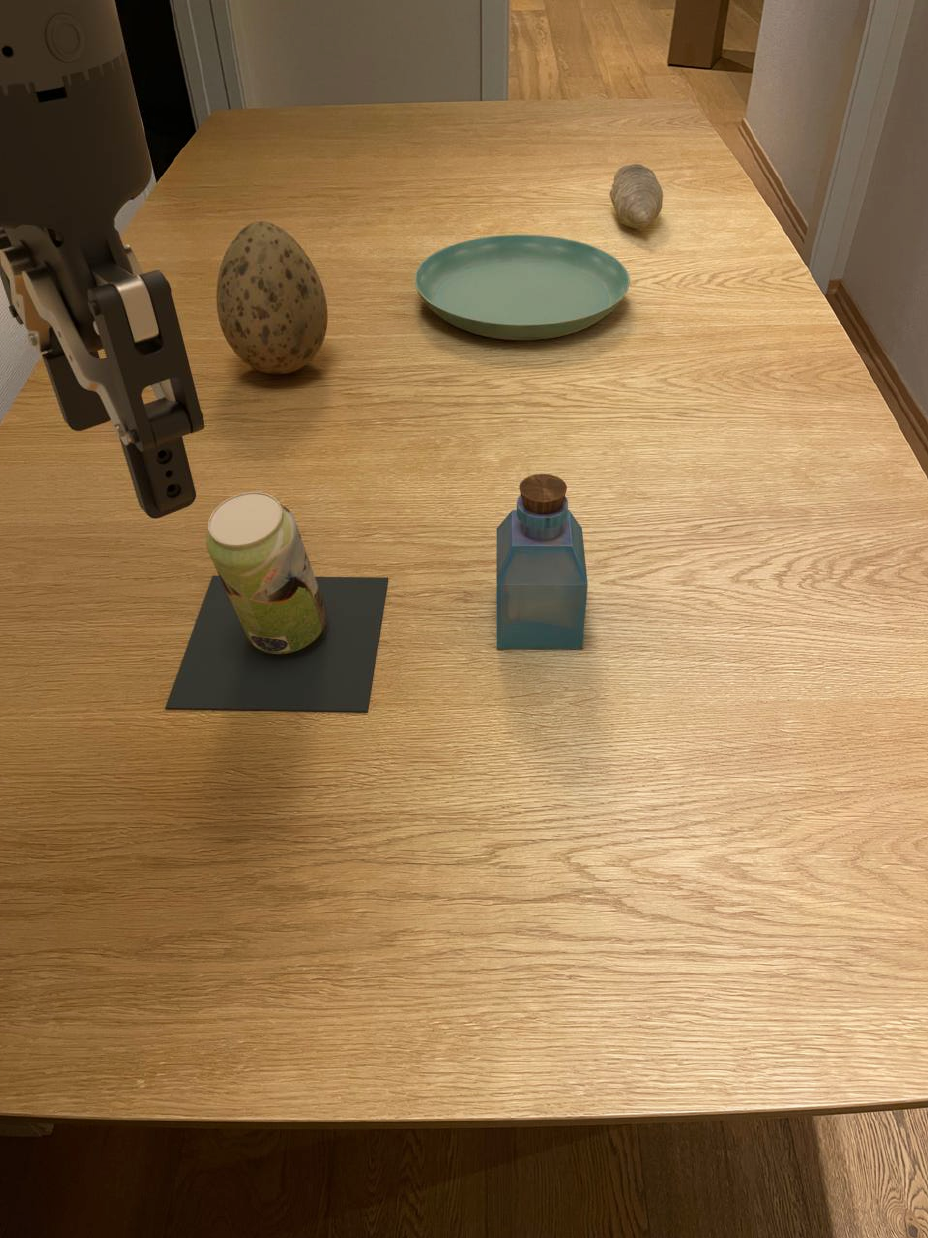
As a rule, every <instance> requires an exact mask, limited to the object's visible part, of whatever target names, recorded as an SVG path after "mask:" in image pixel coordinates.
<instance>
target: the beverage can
mask: <svg viewBox="0 0 928 1238" xmlns="http://www.w3.org/2000/svg"><path fill="white" fill-rule="evenodd" d="M207 529H208V530H207V533H206V537H205V546H206V550H207V553H208V555H209V557H210V559H211V561H212V563H213V565H214V568H215V570H216V572H217V574H218V576H220V578H221V581H222V583H223V585H224V587H225V589H226V592H227V594H228V596H229V598H230V600H231V602H232V605H233V607H234V609H235V611H236V613H237V616H238V618H239V620H240V622H241V624H242V626H243V629H244V631H245V633H246V635H247V637H248V639H249V641H250V642H251V644H252V645H253V646H254V647H256V648H257V649H259V650H261V651H263V652H266V653H270V654H287V653H291V652H295V651H298V650H300V649H302V648H304V647H306V646H308V645H309V644H310V643H312V642H313V641H314V640H315V639H316V638H317V637H318V636H319V635H320V633H321V632H322V630H323V629H324V627H325V624H326V620H327V612H326V608H325V605H324V602H323V599H322V596H321V593H320V590H319V587H318V585H317V582H316V579H315V577H316V576H315V573H314V570H313V567H312V563H311V562H310V559H309V556H308V553H307V550H306V548H305V545H304V541H303V538H302V536H301V533H300V530H299V527H298V524H297V521H296V519H295V516H294V514H293V513H292V512H291V511H290V509H288V508H287V507H286V505H284V504H283V503H280V502H279V501H278V499H276V498H275V497H274V496H272V495H270V494H268V493H265V492H260V491H250V492H249V491H248V492H243V493H239V494H236V495H234V496H231V497H229V498H227V499H226V500H224V501H223V502H221V503H220V504H219V505H217V506H216V508H215V509H214V510H213V511H212V513H211V514H210V516H209V518H208V522H207Z"/></svg>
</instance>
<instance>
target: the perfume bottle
mask: <svg viewBox="0 0 928 1238" xmlns="http://www.w3.org/2000/svg"><path fill="white" fill-rule="evenodd" d="M518 489H519V493H520V494H519V496H518V497H517V500H516V509H511V511H510V512H509V513H508V514H507V515H506V516H505V518H504V519H503V520H502V521H501V522H500V524H499V525H498V526H497V527H496V543H495V544H496V545H495V546H496V551H495V553H496V554H495V555H496V558H495V559H496V561H495V562H496V567H495V568H496V573H495V574H496V575H495V576H496V586H495V587H496V588H495V589H496V590H495V591H496V593H495V595H496V596H495V597H496V599H495V600H496V602H495V603H496V605H495V606H496V607H495V608H496V609H495V610H496V611H495V613H496V650H583V648H584V647H583V645H584V633H585V621H586V611H587V610H586V609H587V600H588V599H587V598H588V586H589V583H588V575H587V564H586V563H587V562H586V553H585V545H584V544H585V543H584V535H583V528H582V526H581V525H580V523H579V521H578V520H577V519H576V517H575V516H574V515H573V513H572V512H571V510H570V509H569V501H568V498H567V496H566V494H567V491H568V487H567V483H566V482H565V481H564V480H563V479H562V478H561V477H558V476H557V475H553V474H549V473H536V474H532V475H528V476H527V477H525V478H523V479H522V480H521V482H520V483H519V487H518Z"/></svg>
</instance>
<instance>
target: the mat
mask: <svg viewBox="0 0 928 1238" xmlns="http://www.w3.org/2000/svg"><path fill="white" fill-rule="evenodd" d="M315 579H316V582H317V585H318V587H319V590H320V593H321V596H322V599H323V602H324V605H325V608H326V612H327V620H326V624H325V627H324V629H323V630H322V632H321V633H320V635H319V636H318V637H317V638H316V639H315V640H314V641H313V642H312V643H310V644H309V645H308V646H306V647H304V648H302V649H300V650H298V651H295V652H291V653H287V654H270V653H266V652H263V651H261V650H259V649H257V648H256V647H254V646H253V645H252V644H251V642H250V641H249V639H248V637H247V635H246V633H245V631H244V629H243V626H242V624H241V622H240V620H239V618H238V616H237V613H236V611H235V609H234V607H233V605H232V602H231V600H230V598H229V596H228V594H227V592H226V589H225V587H224V585H223V583H222V581H221V578H220V576H219V575H211V578H210V581H209V584H208V587H207V589H206V592H205V595H204V598H203V600H202V604H201V607H200V609H199V612H198V614H197V617H196V620H195V622H194V623H195V624H194V626H193V629H192V631H191V633H190V634H191V635H190V637H189V640H188V642H187V645H186V648H185V650H184V653H183V657H182V659H181V662H180V665H179V667H178V671H177V674H176V676H175V679H174V682H173V684H172V687H171V689H170V693H169V695H168V698H167V702H166V704H165V707H164V709H165V710H190V711H191V710H192V711H193V710H194V711H195V710H196V711H197V710H200V711H253V712H254V711H256V712H257V711H258V712H259V711H260V712H261V711H262V712H265V711H266V712H313V713H314V712H319V713H321V712H322V713H368V712H369V706H370V701H371V700H370V699H371V693H372V686H373V681H374V674H375V667H376V661H377V654H378V648H379V642H380V635H381V628H382V622H383V616H384V608H385V602H386V595H387V589H388V583H389V577H385V576H383V577H382V576H379V577H378V576H375V577H374V576H372V577H371V576H315Z"/></svg>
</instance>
